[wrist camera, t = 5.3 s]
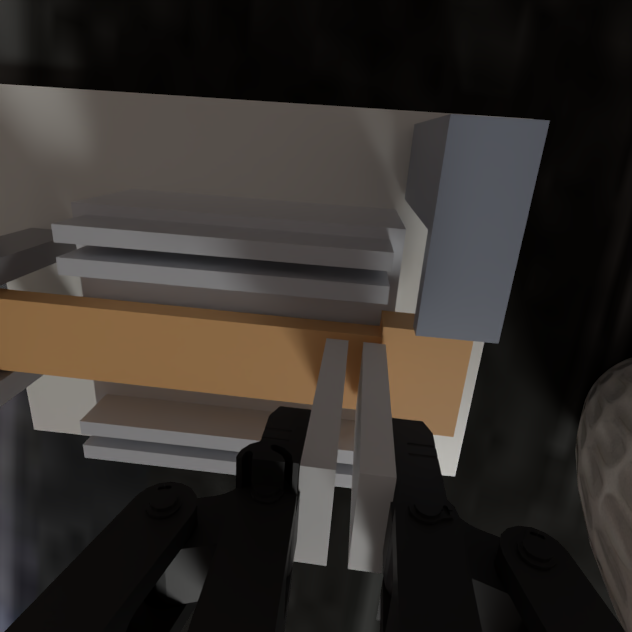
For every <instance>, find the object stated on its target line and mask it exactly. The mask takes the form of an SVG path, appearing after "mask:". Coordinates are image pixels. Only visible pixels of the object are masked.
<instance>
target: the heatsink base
mask: <svg viewBox="0 0 632 632" xmlns="http://www.w3.org/2000/svg"><path fill="white" fill-rule="evenodd" d="M449 114H450V113H435V112H420V111H405V110H389V109H374V108H359V107H344V106H329V105H313V104H298V103H283V102H268V101H252V100H237V99H222V98H207V97H192V96H176V95H161V94H146V93H131V92H115V91H100V90H85V89H70V88H54V87H39V86H24V85H9V84H0V285H2V284H5V283H7V288H8V289H10V290H20V291H30V292H40V293H50V294H60V295H71V296H81V297H91V298H101V299H111V300H121V301H131V302H142V303H152V304H162V305H172V306H182V307H192V308H202V309H213V310H223V311H233V312H243V313H253V314H263V315H273V316H284V317H294V318H304V319H314V320H324V321H334V322H344V323H355V324H365V325H375V326H380V321H381V313H382V310H383V311H393V312H404V313H414V314H415V311H416V304H417V298H418V291H419V285H420V278H421V272H422V265H423V259H424V252H425V246H426V239H427V233H428V229H427V228H426V227H425V225H424V224H423V223H422V221H421V220H420V219H419V217H418V216H417V215H416V213H415V212H414V211H413V209H412V208H411V207H410V206H409V204H408V203H407V202H406V200H405V192H406V185H407V177H408V170H409V162H410V155H411V147H412V139H413V132H414V124H417V123H421V122H424V121H428V120H431V119H435V118H438V117H442V116H445V115H449ZM458 115H466V114H458ZM474 116H481V115H474ZM489 117H496V116H489ZM504 118H511V117H504ZM519 119H527V118H519ZM483 345H484V342H478V341H473V346H472V351H471V355H470V360H469V365H468V370H467V375H466V379H465V384H464V389H463V394H462V399H461V403H460V408H459V413H458V418H457V423H456V427H455V432H454V437H449V436H440V435H433V437H434V442H435V448H436V451H437V456H438V460H439V465H440V470H441V474H442V475H446V476H455V474H456V469H457V464H458V460H459V455H460V451H461V446H462V442H463V437H464V432H465V428H466V423H467V419H468V414H469V409H470V405H471V400H472V396H473V391H474V387H475V382H476V377H477V373H478V368H479V364H480V359H481V354H482V350H483ZM25 388H27V394H28V399H29V404H30V410H31V415H32V420H33V425H34V430H43V431H52V432H61V433H70V434H79V435H88V436H91V437H90V438H89V439H88V440H87V441H86V442H85V443H84V444H83V448H84V455H85V458H94V459H102V460H111V461H120V462H129V463H137V464H146V465H155V466H163V467H172V468H181V469H190V470H198V471H207V472H216V473H224V474H233V475H236V456H237V455H238V453H239V452H240V451H241V449H243V448H244V447H246V446H248V445H249V444H252V443H255V442H259V441H260V440H261V438H262V434H263V432H264V429H265V426H266V423H267V420H268V418H269V415H270V414H271V413H273V412H274V411H275V410H276V409H277V408H278V407H280V406H284V407H293V408H301V409H310V410H312V405H310V404H301V403H293V402H284V401H275V400H266V399H257V398H248V397H239V396H230V395H221V394H212V393H203V392H194V391H185V390H177V389H168V388H159V387H150V386H141V385H132V384H123V383H114V382H105V381H96V380H87V379H78V378H69V377H60V376H52V375H43V374H34V373H25V372H16V371H7V370H0V407H1V406H2V405H4V404H5V403H6V402H8V401H9V400H10V399H12V398H13V397H14V396H16V395H17V394H19V393H20V392H21V391H23V390H24V389H25ZM355 412H356V410H355V409H346V408H342V414H341V424H340V434H339V445H338V455H337V465H336V475H335V485H334V486H338V487H346V488H352V473H353V453H354V432H355Z"/></svg>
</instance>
